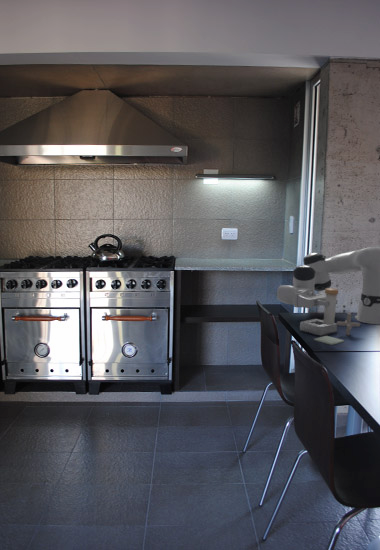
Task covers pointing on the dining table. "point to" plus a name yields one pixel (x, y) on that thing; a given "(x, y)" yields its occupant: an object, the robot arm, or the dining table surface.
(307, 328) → the housing block
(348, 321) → the pipe connector
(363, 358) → the dining table surface
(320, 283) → the robot arm
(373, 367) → the dining table surface
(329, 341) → the rubber mat
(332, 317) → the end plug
